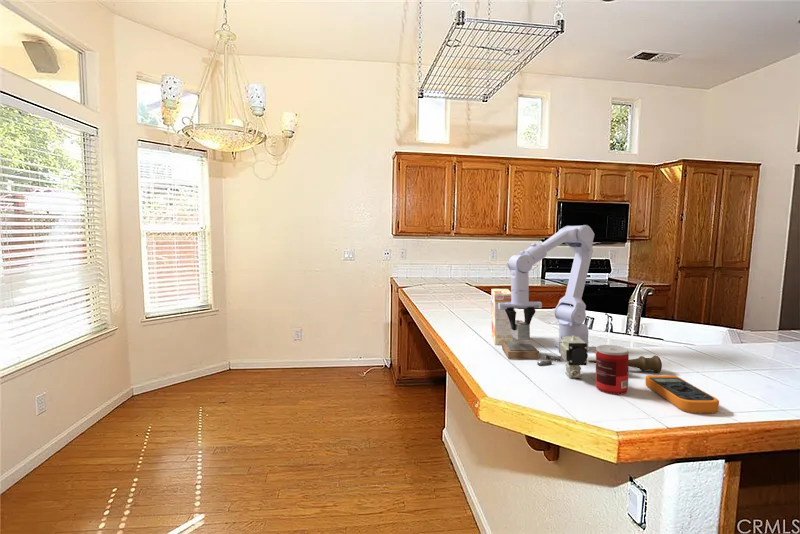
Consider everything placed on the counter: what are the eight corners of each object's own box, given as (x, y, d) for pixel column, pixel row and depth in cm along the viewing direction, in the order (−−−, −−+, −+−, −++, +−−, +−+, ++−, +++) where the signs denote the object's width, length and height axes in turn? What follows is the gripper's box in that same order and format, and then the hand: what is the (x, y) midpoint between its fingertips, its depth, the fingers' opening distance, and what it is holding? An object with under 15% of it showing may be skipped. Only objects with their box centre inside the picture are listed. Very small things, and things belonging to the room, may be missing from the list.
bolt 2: (559, 362, 135) (560, 359, 136) (558, 358, 135) (560, 356, 136) (545, 359, 138) (547, 357, 139) (545, 356, 138) (546, 354, 138)
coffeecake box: (491, 335, 171) (490, 288, 170) (508, 335, 170) (508, 288, 169) (494, 345, 156) (493, 293, 155) (513, 345, 155) (513, 293, 154)
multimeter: (684, 415, 94) (684, 400, 94) (643, 386, 112) (643, 374, 112) (724, 415, 94) (724, 400, 93) (676, 386, 112) (676, 374, 111)
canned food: (625, 385, 112) (625, 345, 112) (630, 396, 105) (631, 353, 104) (593, 382, 115) (594, 343, 114) (597, 393, 107) (598, 351, 107)
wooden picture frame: (530, 349, 150) (530, 341, 149) (539, 359, 138) (539, 350, 137) (502, 349, 150) (502, 341, 150) (508, 359, 138) (508, 350, 138)
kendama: (667, 379, 118) (593, 376, 120) (651, 369, 128) (582, 366, 130) (668, 358, 118) (593, 355, 120) (651, 350, 127) (583, 347, 130)
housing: (529, 339, 139) (529, 323, 139) (518, 340, 139) (517, 324, 138) (521, 334, 147) (521, 319, 147) (510, 334, 147) (510, 319, 146)
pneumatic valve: (575, 370, 126) (576, 331, 125) (588, 383, 114) (588, 340, 113) (556, 369, 127) (557, 331, 126) (567, 383, 115) (567, 340, 114)
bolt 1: (550, 359, 132) (552, 363, 131) (548, 361, 133) (550, 365, 133) (538, 360, 131) (540, 365, 130) (536, 362, 132) (538, 366, 131)
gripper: (536, 287, 146) (536, 326, 147) (495, 289, 145) (495, 327, 146) (544, 290, 139) (544, 330, 140) (501, 292, 138) (501, 332, 139)
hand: (520, 329), depth 142 cm, fingers closed on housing, 4 cm apart
